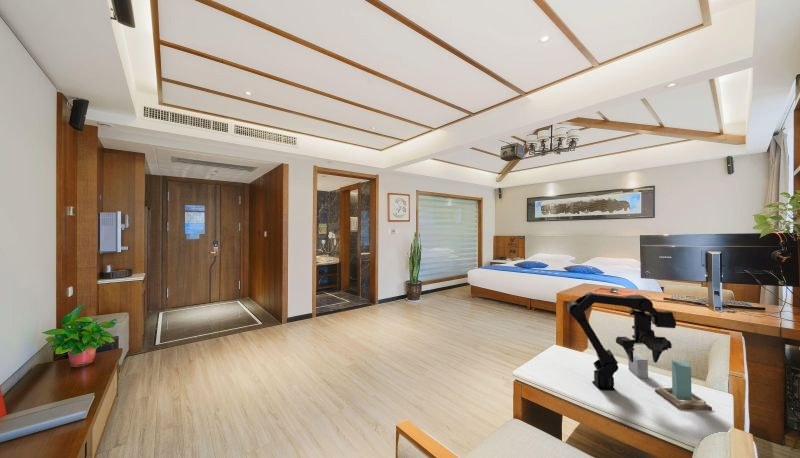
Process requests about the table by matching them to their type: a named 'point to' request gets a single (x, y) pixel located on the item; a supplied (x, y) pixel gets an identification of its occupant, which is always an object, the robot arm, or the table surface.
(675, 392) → the column block
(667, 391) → the base plate
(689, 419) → the table surface
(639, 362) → the medicine box
